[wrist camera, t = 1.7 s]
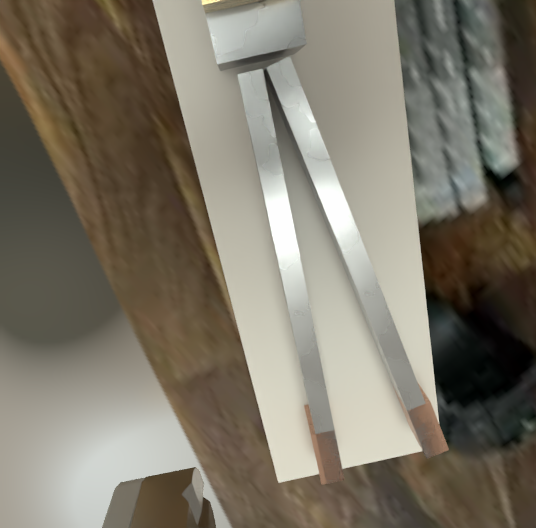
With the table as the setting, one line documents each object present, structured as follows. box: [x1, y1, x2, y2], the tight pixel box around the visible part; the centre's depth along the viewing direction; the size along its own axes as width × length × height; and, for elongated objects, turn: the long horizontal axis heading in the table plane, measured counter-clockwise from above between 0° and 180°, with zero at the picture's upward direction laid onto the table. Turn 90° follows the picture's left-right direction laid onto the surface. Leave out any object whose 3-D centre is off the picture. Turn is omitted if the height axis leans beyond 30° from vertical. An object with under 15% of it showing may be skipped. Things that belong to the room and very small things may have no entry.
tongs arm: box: [263, 56, 449, 458], centre depth 27 cm, size 25×2×3 cm, turn 24°
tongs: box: [205, 0, 344, 485], centre depth 26 cm, size 30×4×4 cm, turn 12°
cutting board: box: [153, 0, 439, 483], centre depth 29 cm, size 32×12×1 cm, turn 12°
